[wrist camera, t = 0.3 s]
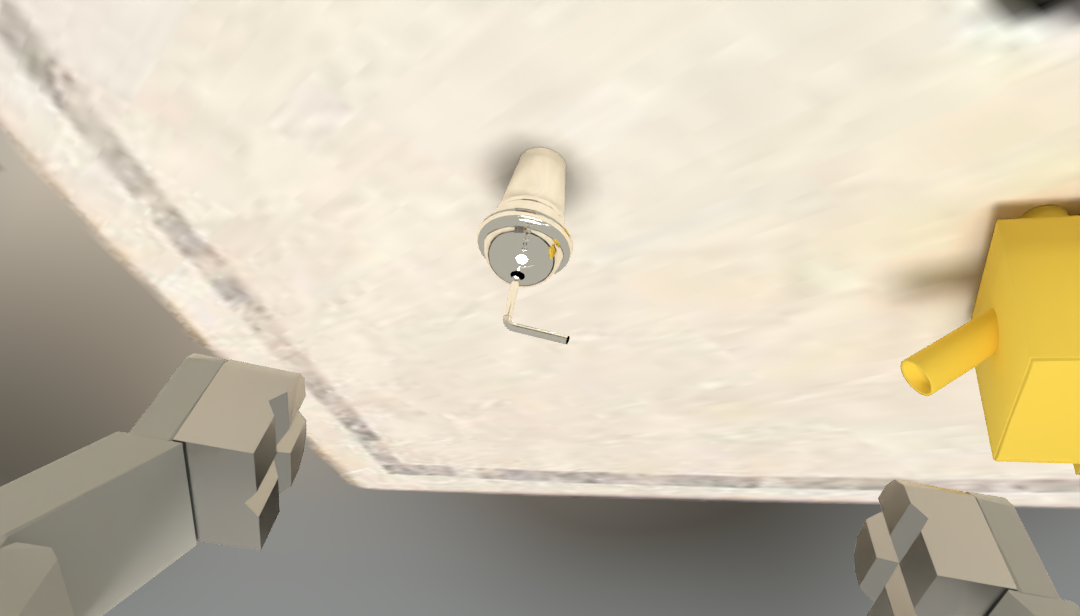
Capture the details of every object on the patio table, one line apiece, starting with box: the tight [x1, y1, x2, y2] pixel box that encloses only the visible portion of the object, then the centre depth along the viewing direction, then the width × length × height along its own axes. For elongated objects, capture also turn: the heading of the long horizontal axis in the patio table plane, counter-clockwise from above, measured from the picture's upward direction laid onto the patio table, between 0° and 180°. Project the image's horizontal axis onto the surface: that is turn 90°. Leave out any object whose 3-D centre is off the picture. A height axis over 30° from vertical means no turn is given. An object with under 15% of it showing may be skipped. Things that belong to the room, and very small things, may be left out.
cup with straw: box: [477, 147, 573, 344], centre depth 71 cm, size 8×9×20 cm
